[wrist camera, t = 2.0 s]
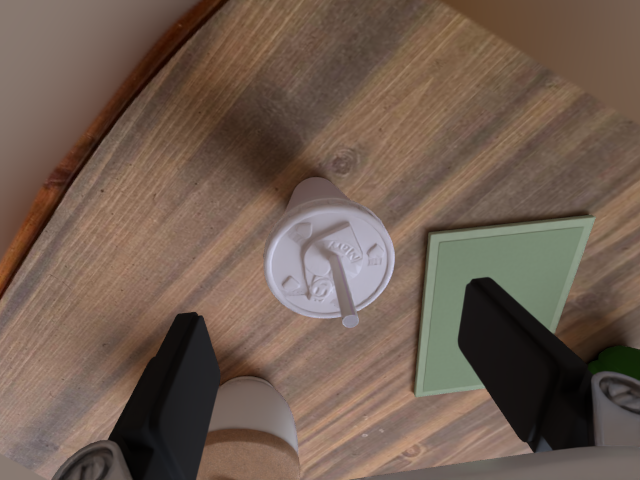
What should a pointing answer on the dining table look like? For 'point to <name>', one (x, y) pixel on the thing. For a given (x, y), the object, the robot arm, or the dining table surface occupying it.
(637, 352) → the bell pepper
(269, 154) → the dining table surface
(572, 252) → the placemat
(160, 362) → the robot arm
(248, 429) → the trinket box
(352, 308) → the smoothie
